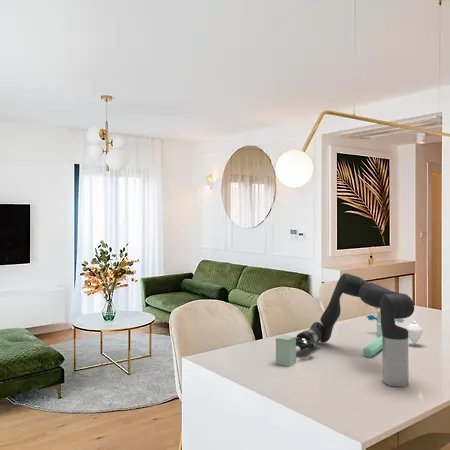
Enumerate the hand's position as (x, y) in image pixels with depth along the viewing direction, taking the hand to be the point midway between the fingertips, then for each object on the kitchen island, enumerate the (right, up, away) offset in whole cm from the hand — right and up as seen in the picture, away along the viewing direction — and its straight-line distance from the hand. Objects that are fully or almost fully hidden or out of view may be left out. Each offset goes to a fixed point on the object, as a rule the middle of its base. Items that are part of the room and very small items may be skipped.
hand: (291, 346), depth 205 cm
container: (+41, -6, +13) cm, 43 cm away
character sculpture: (+56, -5, +43) cm, 71 cm away
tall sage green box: (-3, -6, -5) cm, 8 cm away
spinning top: (+62, -5, +22) cm, 66 cm away
